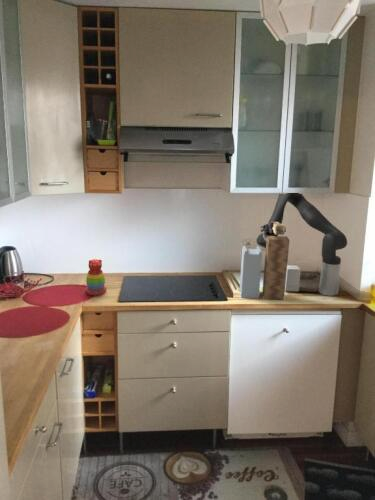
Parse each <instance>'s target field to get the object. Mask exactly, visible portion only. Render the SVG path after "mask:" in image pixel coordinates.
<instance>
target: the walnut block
mask: <svg viewBox="0 0 375 500" xmlns="http://www.w3.org/2000/svg"><path fill="white" fill-rule="evenodd" d="M289 250H290V238H288V236H284V235H279V236H267V241H266V248H265V255H264V256H265V257H264V267H263V268H264V269H263V281H262V292H261V293H262V294H263V295H262V294H261V295H262V298H263V300H265V301H285V292H286V291H285V282H286V272H287V265H288V259H289Z"/></svg>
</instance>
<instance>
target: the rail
mask: <svg viewBox="0 0 375 500" xmlns="http://www.w3.org/2000/svg"><path fill="white" fill-rule="evenodd" d="M285 227H286V225H285V223H282V224H279V222H273V228H272V229H273V231H274V233H275V234H278V235H279V236H284V235H285V232H284V231H285Z"/></svg>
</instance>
